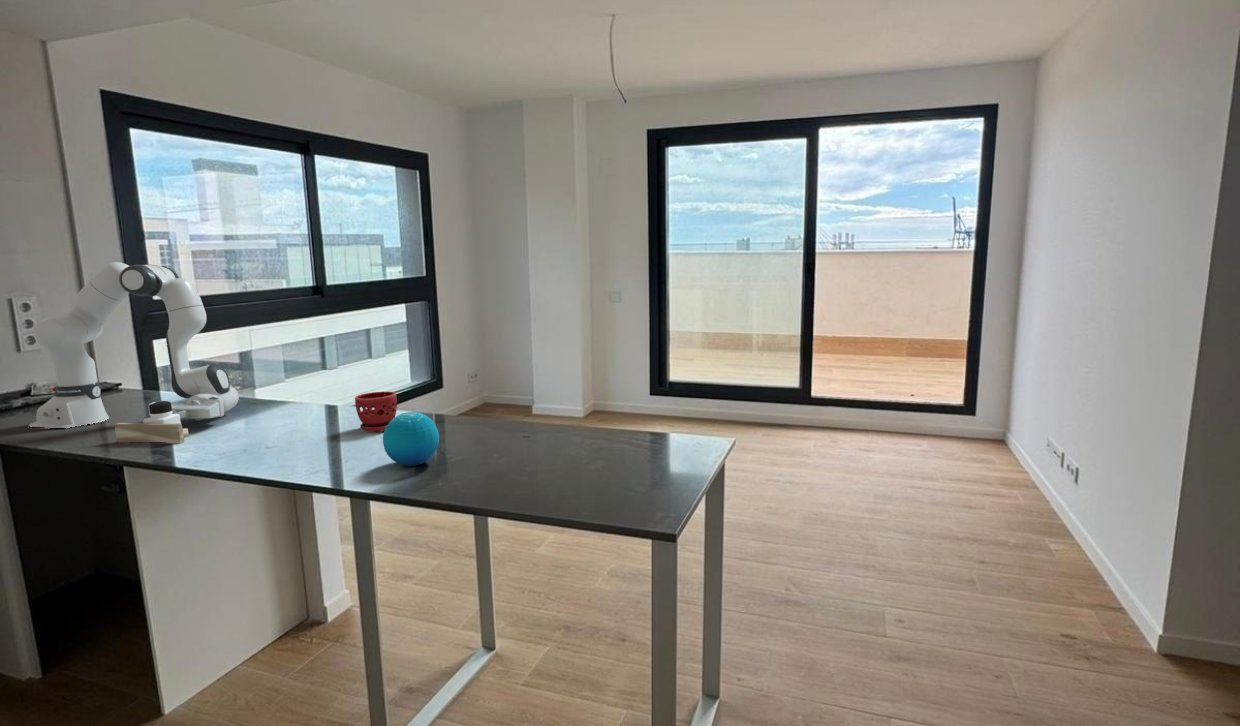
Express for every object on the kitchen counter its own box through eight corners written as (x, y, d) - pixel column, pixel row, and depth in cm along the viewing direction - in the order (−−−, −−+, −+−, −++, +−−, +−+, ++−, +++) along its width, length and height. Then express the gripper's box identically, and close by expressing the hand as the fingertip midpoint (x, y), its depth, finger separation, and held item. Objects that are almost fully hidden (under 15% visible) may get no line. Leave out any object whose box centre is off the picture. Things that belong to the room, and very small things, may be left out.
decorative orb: (431, 453, 190) (428, 403, 187) (447, 466, 177) (444, 414, 175) (379, 462, 182) (375, 411, 179) (392, 477, 170) (387, 422, 167)
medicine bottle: (182, 434, 213) (178, 399, 211) (166, 441, 206) (160, 404, 204) (163, 434, 213) (157, 399, 211) (145, 440, 207) (140, 404, 204)
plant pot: (405, 424, 223) (403, 390, 221) (385, 434, 210) (383, 399, 208) (371, 423, 225) (368, 389, 223) (349, 433, 212) (346, 398, 210)
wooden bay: (138, 435, 213) (136, 417, 212) (199, 436, 211) (197, 418, 210) (117, 442, 205) (114, 424, 204) (180, 443, 203) (178, 425, 202)
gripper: (171, 398, 226) (139, 407, 213) (226, 398, 224) (196, 407, 211) (174, 415, 227) (142, 425, 214) (228, 415, 225) (199, 426, 212)
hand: (169, 416), depth 212 cm, fingers closed, pressing on medicine bottle
